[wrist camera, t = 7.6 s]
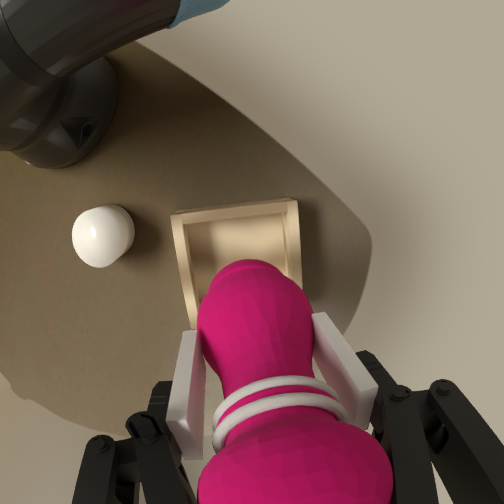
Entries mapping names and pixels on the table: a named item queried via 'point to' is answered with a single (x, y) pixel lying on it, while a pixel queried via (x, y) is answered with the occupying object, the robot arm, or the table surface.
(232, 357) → the pepper mill
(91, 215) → the white egg-shaped pebble
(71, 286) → the table surface
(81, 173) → the table surface
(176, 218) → the tray
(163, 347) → the table surface
